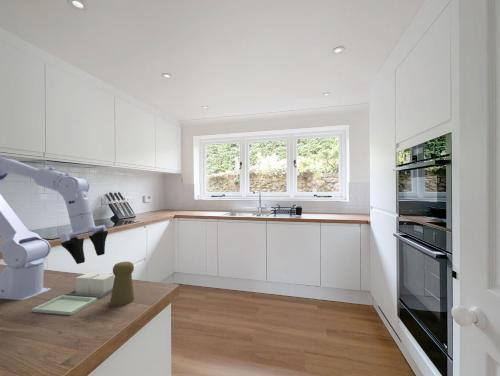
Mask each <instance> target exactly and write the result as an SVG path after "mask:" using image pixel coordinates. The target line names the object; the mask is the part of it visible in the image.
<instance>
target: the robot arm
mask: <svg viewBox="0 0 500 376" xmlns="http://www.w3.org/2000/svg"><path fill="white" fill-rule="evenodd" d="M10 174H11V175H12V174H15V175H18V176H21V177H25V178H29V179H33V181H34V182H35V184H36V185H38V186H39V187H43V188H46V189H50V190H52V191H55V192H57V193H58V194H60V196H62V198H63V201H64V202H65V205H66V209H67V210H66V211H67V213H68V219H69V223H70V225H71V230H72V232H68V233H64V234H61V235H59V240H60V244H61V246H62V248H64V249H65V250H66V252H68V253H69V254H70V255H71V257H72V258H73V259H74V262H75V264H77V265H80V264H84V263H85V262H86V257H85V252H84V240H85V238H84V237H85V236H88V238H89V240H90V241H91V243H92V245H93V248H94V251H95V253H96V256H98V257H99V256H103V255H105V253H106V240H107V237H108V233H109V232H108V230H107V228H106V227H107V226H106V225H105V224H102V225H97V226H96V224H95V220H94V216H93V211H92V207H91V204H90V199H89V196H88V192H89V191H90V190H89V189H90V183H89V182H88V181H87V180H86V178H83V177H82V176H81V177H80V176H77V177H76V176H75V177H74V176H73V174H72V173H68V172H66V173H64V172H61V171H58V169H57V168H56V167H51V166H49V167H43V168H40V169H39V168H36V167H35V166H31V165H29V164H26V163H24V162H20V161H18V160H16V159H11V158H6V157H3V156H2V157H1V156H0V186H1V185H2V184H3V183H4V181H5V180H6V179H7V177H8V176H9V175H10ZM86 232H87V233H86ZM83 233H84V234H83ZM0 237H1V238H2V240H3V242H2V243H1V245H0V252H1V254H2V260H3V262H4V263H5V265H7V266H6V267H4V269H3V270H2V271H1V273H0V299H3V300H4V299H6V300H16V301H17V300H18V301H24V300H27V299H30V298H33V297H35V296H38V295H40V294H43V293H45V292H47V291H49V290H50V291H51V290H52V288H50V287H44V274H45V273H44V269H45V268H44V267H45V261H46V258H47V257H48V256H49V254H50V253H51V249H52V248H51V244H50V243H49V241H48V240H46V239H43V238H42V237H41V236H40V235H39V233H36V232H33V231H31V230H28V228H27V227H26V226H25V225H24V223H23V222H22V221H21V219H20V218H19V217H18V215H17V214H16V213H15V211H14V210H13V209H12V207H11V206H10V205H9V204H8V202H7V201H6V200H5V198H4V196H2V194H1V193H0ZM81 237H83V238H81Z"/></svg>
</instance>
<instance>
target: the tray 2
mask: <svg viewBox="0 0 500 376" xmlns="http://www.w3.org/2000/svg"><path fill="white" fill-rule="evenodd" d="M112 290H113V289H111V290H109V291H107V292H105V293H103V294H102V295H95V294H90V293H89V294H82V293H75V291H76V288H75V289H73V290H70V291H69V292H67V293H65V294H64V295H66V296H79V297H92V298H97V300H101V299H103V298H104V297H106V296H108V295H109V294H112Z"/></svg>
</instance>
